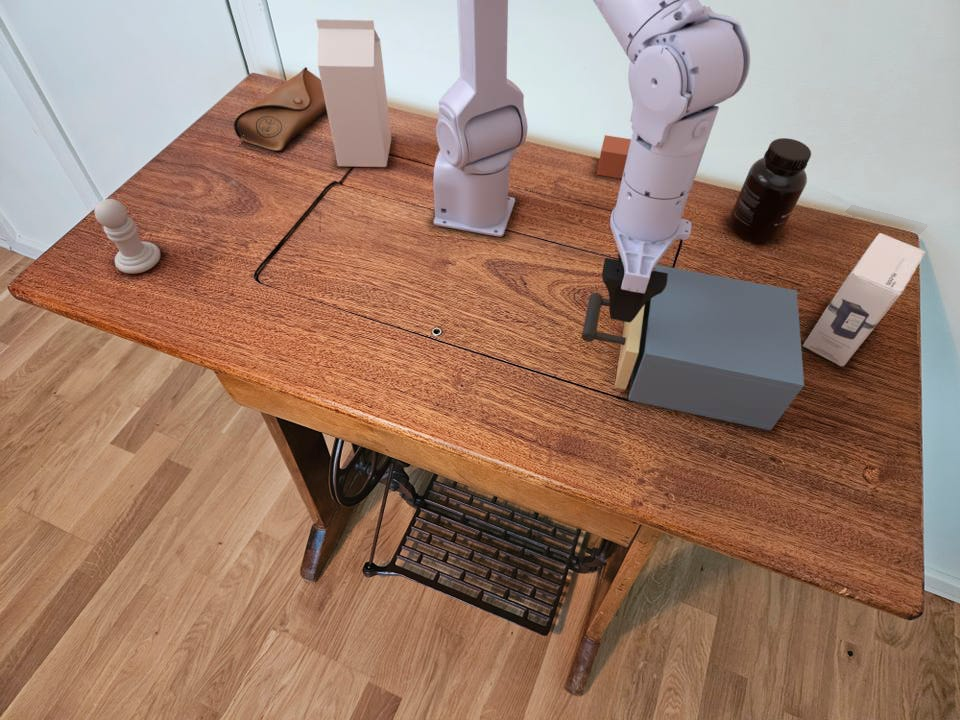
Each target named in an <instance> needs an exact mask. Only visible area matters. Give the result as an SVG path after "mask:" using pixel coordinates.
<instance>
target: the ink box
mask: <svg viewBox="0 0 960 720" xmlns="http://www.w3.org/2000/svg"><path fill="white" fill-rule="evenodd" d="M925 254H926V250H924V249H921V248H920V247H916V246H914V245H911V244H909V243H906V242H903V241H902V240H899V239H896V238H894V237H892V236H889V235H887V234H885V233H882V232H879V233H878V234H877V235H876V237H875V238H874V239H873V241H872V242H871V243H870V244H869V246H868V247H867V249H866V250H865V251H864V253H863V255H861V257H860V258H859V260H858V262H857V263H856V264H855V265H854V267H853V269H852V270H851V271H850V272H849V274H848V275H847V277H846V279H845V280H844V281H843V283H842V285H841V286H840V287H839V289H838V290H837V292H836V293H835V295H834V296H833V298H832V299H831V301H830V302H829V303H828V305H827V307H826V308H825V310H824V311H823V312H822V314H821V316H820V317H819V319H818V321H817V322H816V324H815V325H814V327H813V329H812V330H811V332H810V333H809V335H808V336H807V338H806V340H805V341H804V343H803V344H802V347H803V348H805V349H808V350H809V351H811V352H812V353H815V354H817V355H819V356H821V357H822V358H824V359H826V360H828V361H830V362H832V363H833V364H836V365H838V366H839V367H844V366H845V365H846V364H847V363H848V362H849V361H850V360H851V358H852V357H853V355H855V353H856V352H857V350H858V349H859V348H860V347H861V345H862V344H863V343H864V341H866V339H867V338H868V336H870V335H871V333H872V332H873V330H874V329H875V328H876V327H877V325H878V324H879V323H880V322H881V320H882V319H883V318H884V316H886V313H888V311H889V310H890V308H892V306H893V305H894V304H895V302H896V301H897V300H898V298H899V297H900V296H901V295H902V294H903V292H904V291H905V289H906V287H907V286H908V284H909V282H910V280H911V279H912V277H913V275H914V273H915V272H916V271H917V268H918V266H919V265H920V263H921V262H922V260H923V258H924V257H925V256H926V255H925Z"/></svg>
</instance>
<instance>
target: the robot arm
mask: <svg viewBox="0 0 960 720" xmlns="http://www.w3.org/2000/svg"><path fill="white" fill-rule="evenodd" d="M592 1H593V3H594V4H595V6H596V8H597V9H598V11H599V13H600V14H601V16H602V18H603V19H604V20H605V22H606V23H607V25H608V27H609V29H610V30H611V32H612V34H613V35H614V37H615V38H616V40H617V42H618V43H619V45H620V46H621V49H622V50H623V51H624V53H625V55H626V56H627V58H628V60H629V61H630V63H629V66H628V87H629V88H628V89H629V92H630V96H631V100H632V109H631V114H630V119H629V122H630V123H631V130H632V134H631V138H630V139H631V142H630V146H629V151H628V155H627V159H626V164H625V168H624V172H623V176H622V179H621V181H620V186H619V191H618V194H617V197H616V198H617V199H616V201H615V204H614V208H613V209H612V211H611V215H610V219H609V226H610V230H611V233H612V236H613V239H614V241H615V244H616V248H617V250H618V255H617V259H615V258H610V257H605V258H604V261H603V267H602V271H601V276H602V277H601V278H602V282H603V283H604V285H605V287H606V289H607V293H608V299H609V307H608V308H609V309H608V311H609V318H610V319H611V320H615V321H619V322H620V321H621V322H631V321H632V320H633V319H634V318H635V317H636V315H637V314H638V313H639V311H640V310H641V308H642V307H643V306H644V305H645V303H646V302H647V301H648V300H650V299H651V298H652V297H654V296H656V295H658V294H660V293H662V292H663V290H664V289H665V287H666V284H667V277H668V273H663V272H658V271H654V270H655V267H656V265H658V263H660V261H661V260H662V258H663V257H664V255H665V254H666V253H667V251H668V250H669V248H670V247H671V246H672V244H673V243H674V242H675V241H676V240H682V241H686V240H689V238H690V235H691V234H692V222H691V221H690V220H688V219H685V218H682V216H683V213H684V211H685V208H686V205H687V202H688V198H689V196H690V193H691V190H692V188H693V185H694V182H695V179H696V176H697V174H698V170H699V167H700V164H701V161H702V159H703V156H704V153H705V150H706V146H707V144H708V141H709V139H710V135H711V132H712V129H713V126H714V123H715V120H716V118H717V115H718V112H719V109H720V107H719V106H718V105H719V104H721V103H723V102H725V101H727V100H729V99H730V98H733V97H734V96H736V95H737V94H738V93H739V92H740V91H741V89H742V88H743V86H744V85H745V83H746V80H747V78H748V75H749V72H750V67H751V52H750V51H751V50H750V46H749V42H748V40H747V37H746V35H745V34H744V32H743V28H742V25H741V23H740V22H739V21H738V20H736V19H735V18H734V17H732V16H730V15H727V14H723V13H719V14H718V13H716V12H714V11H713V10H712V8H711V6H706V5H702V3H701V1H699V0H592ZM456 8H457V31H458V55H459V56H458V57H459V58H458V59H459V77H458V79H457V80H456V81H455V82H454V83H453V84H452V85H451V86H450V87H449V88H448V90H446V91H445V93H444V94H443V95H442V96H441V97H440V99H439V100H438V119H437V123H436V128H435V136H436V141H437V144H438V148H439V151H438V154H437V155H436V158H435V161H434V162H435V163H434V167H433V183H432V187H433V201H434V204H433V205H434V219H433V224H434V226H437V227H444V228H449V229H453V230H460V231H465V232H471V233H476V234H481V235H486V236H493V237H499V238H500V237H503V236H504V234H505V232H506V229H507V227H508V223H509V220H510V217H511V215H512V212H513V210H514V206H515V203H516V198H515V197H512V196H509V189H510V175H511V174H510V173H511V160H512V159H514V158H516V156H517V148H520V147H522V146H523V145H524V144H525V142H526V140H527V135H528V126H529V125H528V118H527V114H526V111H525V105H524V104H525V103H524V101H525V100H524V97H525V94H524V92H523V91H522V90H521V89H520V87H519V86H518V85H517V84H516V83H515V82H514V81H512V80H510V79H509V78H508V29H509V28H508V27H509V26H508V25H509V24H508V23H509V0H456Z"/></svg>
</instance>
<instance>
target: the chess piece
mask: <svg viewBox="0 0 960 720" xmlns="http://www.w3.org/2000/svg"><path fill="white" fill-rule="evenodd" d="M93 213H94V217H95V219H96V221H97V222H98V223H99V224H100V225H101V226H103V232H104V233H105V234H106V236H107V238H108V239H109V240H110V241H111V242H114V245H115V246H116V248H117V249H118V251H117V252H116V254H115V256H114V259H113V260H114V266H115V267H116V269H118V270H119V271H120V272H122V273H124V274H128V275H129V274H130V275H134V274H135V275H137V274H141V273H145V272H147V271H149V270H151V269H152V268H153V267H155V266H156V265H157V264H158V262H159V261H160V260H161V250H160V248H159V247H158V246H157V245H156V244H154V243H152V242H150V241H143V240H142V241H141V238H140V237H139V235H138V227H137V225H135V222H134V219H132V218H131V217H129V215H128V210H127V208H126V206H125V205H124V204H123V203H122V202H121V201H119V200H117V199H114V198H105V199H102V200H100V201H99V202H98V203H97V204H96V205H95V207H94V212H93Z"/></svg>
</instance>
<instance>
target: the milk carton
mask: <svg viewBox="0 0 960 720" xmlns="http://www.w3.org/2000/svg"><path fill="white" fill-rule="evenodd" d="M315 20H316V21H315V22H316V25H317V67H318V73H319V79H320V80H321V83H322V88H323V93H324V98H325V103H326V109H327V112H326V113H327V118H328V123H329V128H330V133H331V138H332V142H333V144H332V145H333V149H334V153H335V158H336V163H337V166H338V167H354V168H355V167H357V168H358V167H360V168H361V167H363V168H365V167H366V168H386V167H387V165H388V159H389V154H390V149H391V142H392V133H391V131H392V130H391V123H390V115H389V105H388V97H387V96H388V95H387V89H386V87H387V86H386V80H385V78H386V77H385V72H384V62H383V53H382V45H381V44H382V43H381V38H380V36H379V35H378V32H377V31H376V29H375V23H374V19H338V18H336V19H335V18H316V19H315Z"/></svg>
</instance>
